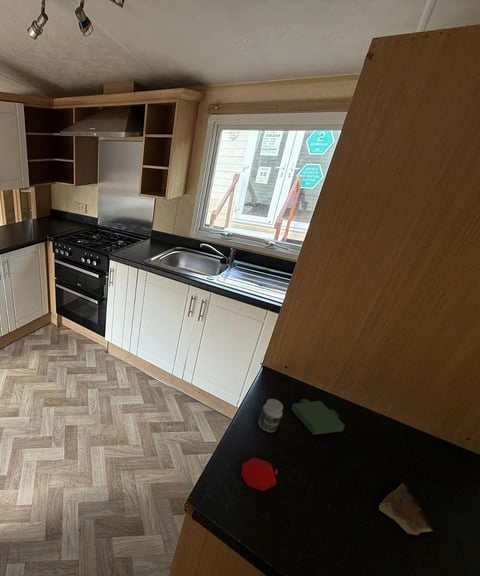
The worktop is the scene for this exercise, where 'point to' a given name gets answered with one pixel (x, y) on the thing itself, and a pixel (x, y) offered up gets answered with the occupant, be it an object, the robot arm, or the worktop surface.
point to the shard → (405, 511)
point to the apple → (258, 474)
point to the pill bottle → (270, 415)
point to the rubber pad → (317, 417)
